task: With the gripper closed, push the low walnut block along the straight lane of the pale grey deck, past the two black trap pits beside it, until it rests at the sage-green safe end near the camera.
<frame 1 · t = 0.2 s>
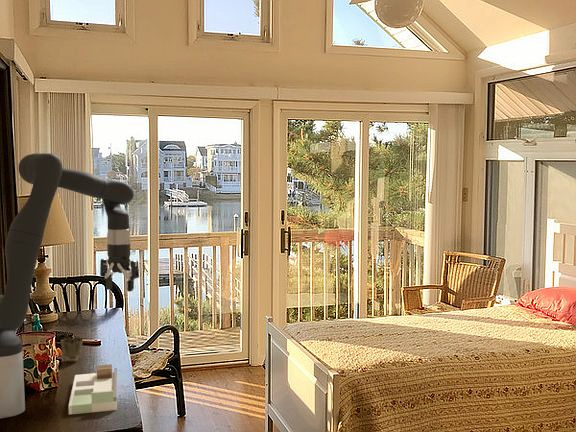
hand: (119, 290, 217), 28 cm above the table, fingers open, 8 cm apart
cup: (72, 361, 230), on the table
walnut block: (104, 376, 205), point 2 cm above the table, touching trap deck
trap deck: (96, 395, 195), on the table
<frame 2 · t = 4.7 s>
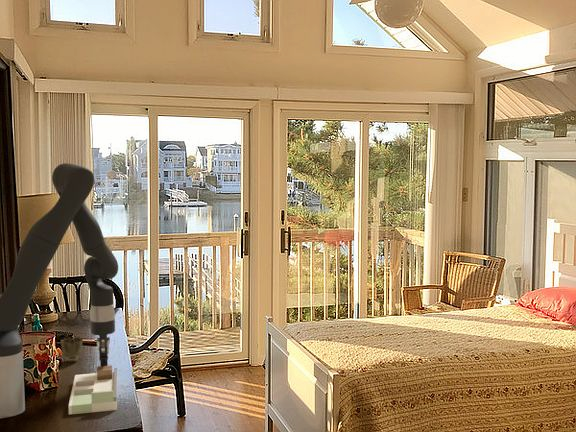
hand: (104, 371, 208), 3 cm above the table, fingers closed
walnut block: (104, 377, 204), point 2 cm above the table, touching gripper, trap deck
everything else where it was.
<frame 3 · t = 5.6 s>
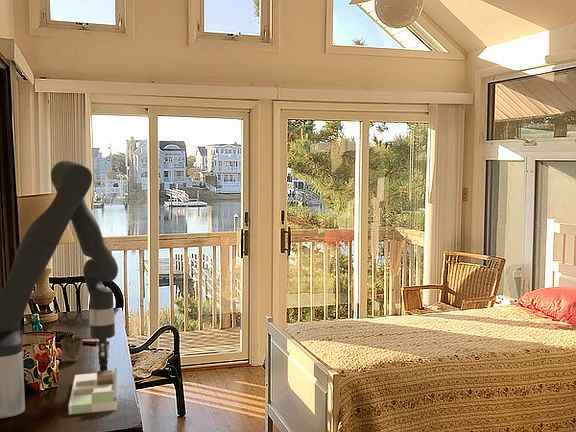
hand: (103, 375, 203), 3 cm above the table, fingers closed
walnut block: (105, 382, 199), point 3 cm above the table, touching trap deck
everything else where it was.
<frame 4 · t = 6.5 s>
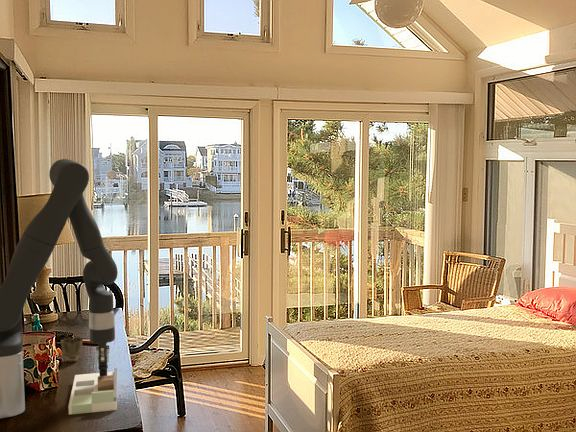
hand: (103, 380, 198), 3 cm above the table, fingers closed
walnut block: (105, 387, 195), point 2 cm above the table, touching gripper, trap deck
everything else where it was.
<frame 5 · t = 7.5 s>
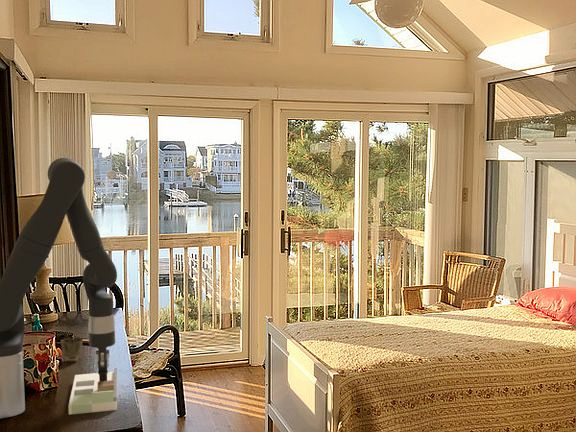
hand: (103, 386, 194), 3 cm above the table, fingers closed
walnut block: (105, 393, 190), point 2 cm above the table, touching gripper, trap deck
everything else where it was.
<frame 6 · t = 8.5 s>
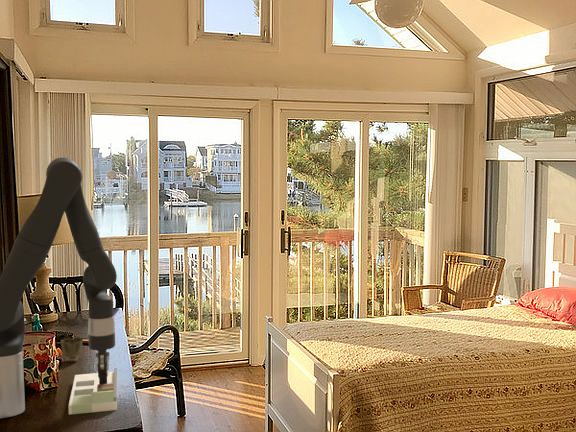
hand: (103, 389, 191), 3 cm above the table, fingers closed
walnut block: (105, 396, 187), point 2 cm above the table, touching gripper, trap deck
everything else where it was.
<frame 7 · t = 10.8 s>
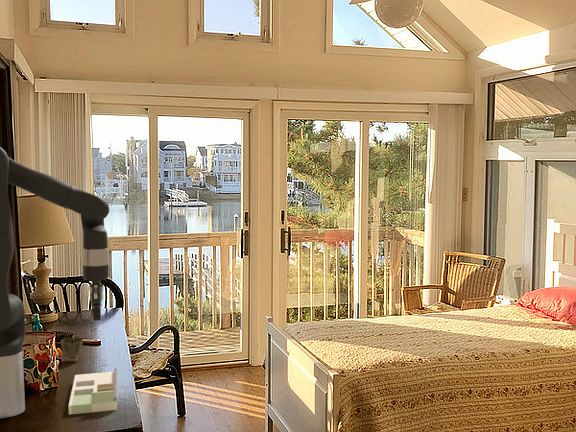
hand: (97, 319, 195), 23 cm above the table, fingers closed
walnut block: (105, 396, 187), point 2 cm above the table, touching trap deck
everything else where it was.
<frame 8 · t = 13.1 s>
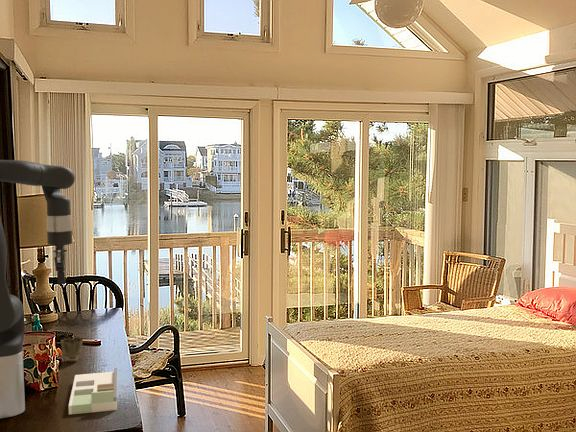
hand: (61, 283, 206), 32 cm above the table, fingers closed
nothing on the table moved.
at the end: walnut block 1.1 cm from the target spot on the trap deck, point 2.5 cm above the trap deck's base; walnut block tilted 0° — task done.
